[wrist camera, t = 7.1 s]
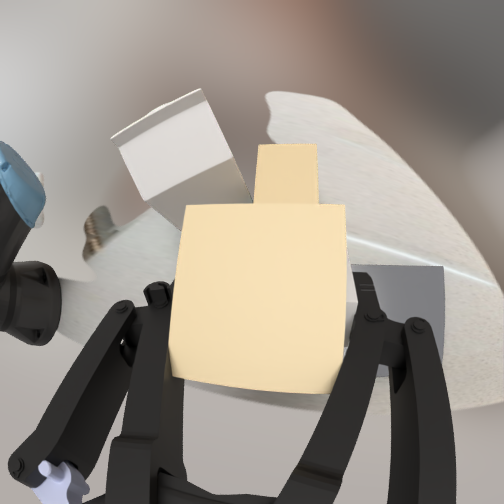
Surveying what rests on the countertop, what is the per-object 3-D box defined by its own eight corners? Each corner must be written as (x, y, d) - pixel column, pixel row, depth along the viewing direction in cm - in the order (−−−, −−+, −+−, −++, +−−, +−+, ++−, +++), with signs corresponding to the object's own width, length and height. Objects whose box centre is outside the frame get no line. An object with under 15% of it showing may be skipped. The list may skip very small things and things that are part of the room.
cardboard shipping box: (269, 273, 30) (248, 242, 20) (273, 200, 33) (257, 144, 22) (315, 274, 29) (319, 244, 19) (316, 200, 32) (317, 143, 21)
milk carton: (266, 231, 32) (215, 118, 14) (211, 256, 32) (112, 174, 15) (245, 185, 34) (190, 67, 16) (195, 208, 35) (109, 111, 17)
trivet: (339, 375, 26) (341, 377, 25) (345, 266, 29) (347, 264, 28) (436, 370, 23) (441, 371, 22) (439, 268, 26) (443, 266, 25)
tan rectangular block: (237, 352, 19) (166, 374, 9) (244, 266, 21) (186, 205, 10) (320, 357, 18) (340, 393, 8) (324, 269, 20) (346, 204, 9)
